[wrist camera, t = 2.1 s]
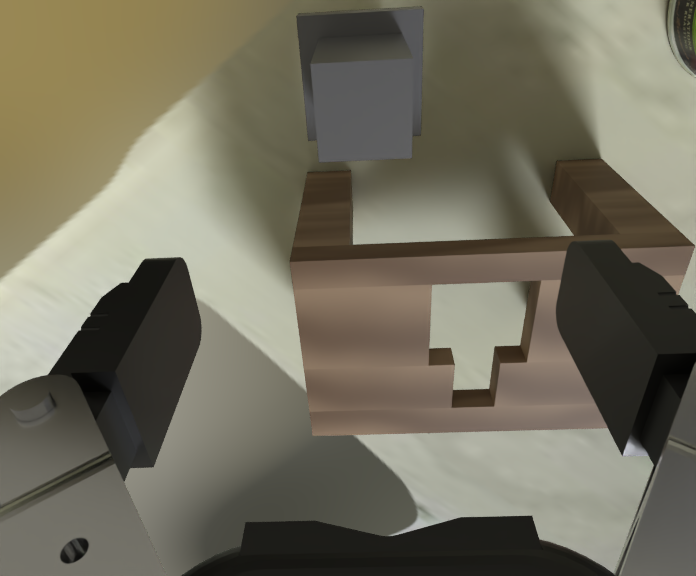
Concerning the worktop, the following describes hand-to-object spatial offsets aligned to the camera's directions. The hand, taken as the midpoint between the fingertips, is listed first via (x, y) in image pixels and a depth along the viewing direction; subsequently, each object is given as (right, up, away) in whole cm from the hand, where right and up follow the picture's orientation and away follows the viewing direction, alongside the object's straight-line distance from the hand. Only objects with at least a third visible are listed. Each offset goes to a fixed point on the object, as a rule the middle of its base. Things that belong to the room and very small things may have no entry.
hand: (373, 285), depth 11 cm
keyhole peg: (0, +14, +21) cm, 26 cm away
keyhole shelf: (+7, +3, +29) cm, 30 cm away
